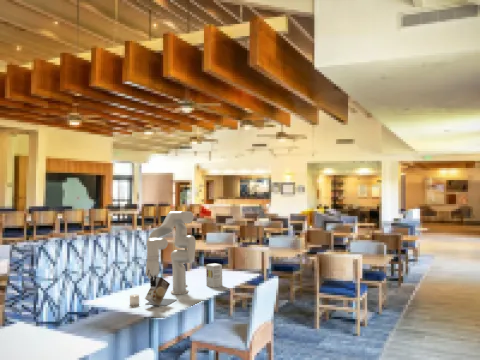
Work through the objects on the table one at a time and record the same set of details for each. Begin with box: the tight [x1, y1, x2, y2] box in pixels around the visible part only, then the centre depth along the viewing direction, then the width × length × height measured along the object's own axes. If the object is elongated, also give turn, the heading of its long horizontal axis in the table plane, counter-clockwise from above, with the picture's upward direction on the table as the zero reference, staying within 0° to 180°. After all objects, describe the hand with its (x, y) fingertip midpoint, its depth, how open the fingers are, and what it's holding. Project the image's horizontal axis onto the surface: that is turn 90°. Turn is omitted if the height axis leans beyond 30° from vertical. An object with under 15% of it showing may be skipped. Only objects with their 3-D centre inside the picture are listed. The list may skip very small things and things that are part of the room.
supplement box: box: [205, 262, 223, 288], centre depth 322 cm, size 10×9×17 cm
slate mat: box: [145, 298, 178, 307], centre depth 277 cm, size 15×16×1 cm
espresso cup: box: [129, 294, 140, 307], centre depth 273 cm, size 6×6×6 cm
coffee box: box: [144, 276, 171, 307], centre depth 271 cm, size 9×6×16 cm
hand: (153, 286), depth 268 cm, fingers closed
